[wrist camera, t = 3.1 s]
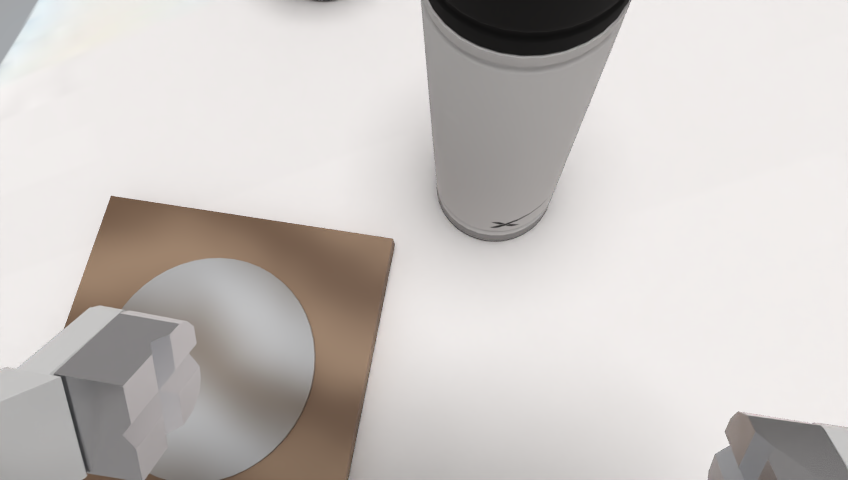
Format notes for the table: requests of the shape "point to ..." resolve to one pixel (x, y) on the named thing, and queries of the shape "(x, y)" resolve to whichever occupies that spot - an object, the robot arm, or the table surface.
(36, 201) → the table surface
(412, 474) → the table surface
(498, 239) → the travel mug
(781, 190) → the table surface
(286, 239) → the board
